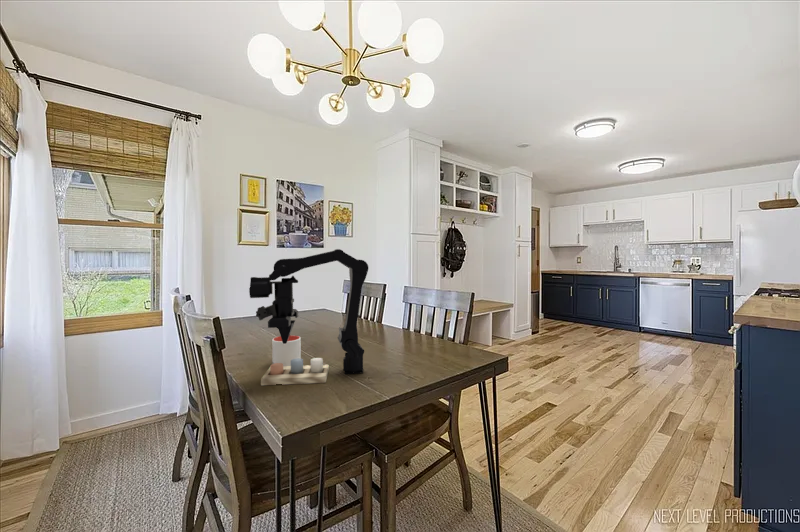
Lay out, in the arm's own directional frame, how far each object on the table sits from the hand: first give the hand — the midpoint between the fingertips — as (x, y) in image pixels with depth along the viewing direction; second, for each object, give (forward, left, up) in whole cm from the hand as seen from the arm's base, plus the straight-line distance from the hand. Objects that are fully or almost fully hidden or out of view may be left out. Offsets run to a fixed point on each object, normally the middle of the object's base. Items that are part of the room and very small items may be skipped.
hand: (284, 343), depth 114 cm
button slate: (-4, 0, -10) cm, 11 cm away
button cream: (-10, 0, -10) cm, 14 cm away
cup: (+2, -14, -12) cm, 18 cm away
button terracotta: (+3, 0, -11) cm, 11 cm away
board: (-4, 0, -12) cm, 12 cm away
